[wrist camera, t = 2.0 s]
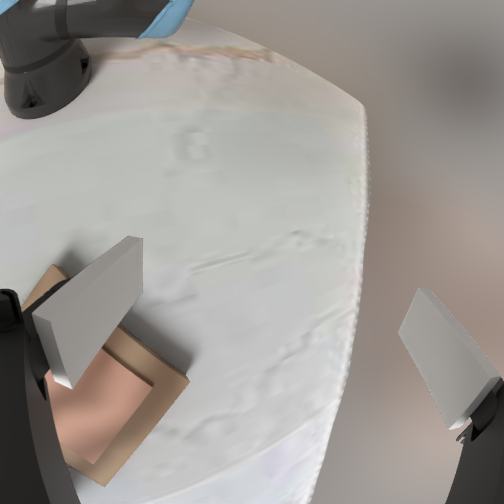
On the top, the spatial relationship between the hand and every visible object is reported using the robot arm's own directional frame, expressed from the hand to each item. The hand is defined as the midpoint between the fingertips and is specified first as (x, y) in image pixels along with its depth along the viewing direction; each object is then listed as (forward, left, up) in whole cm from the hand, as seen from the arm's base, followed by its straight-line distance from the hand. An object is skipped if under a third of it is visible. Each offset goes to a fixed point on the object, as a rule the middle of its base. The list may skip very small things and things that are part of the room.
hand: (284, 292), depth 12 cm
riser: (-5, -18, -23) cm, 30 cm away
